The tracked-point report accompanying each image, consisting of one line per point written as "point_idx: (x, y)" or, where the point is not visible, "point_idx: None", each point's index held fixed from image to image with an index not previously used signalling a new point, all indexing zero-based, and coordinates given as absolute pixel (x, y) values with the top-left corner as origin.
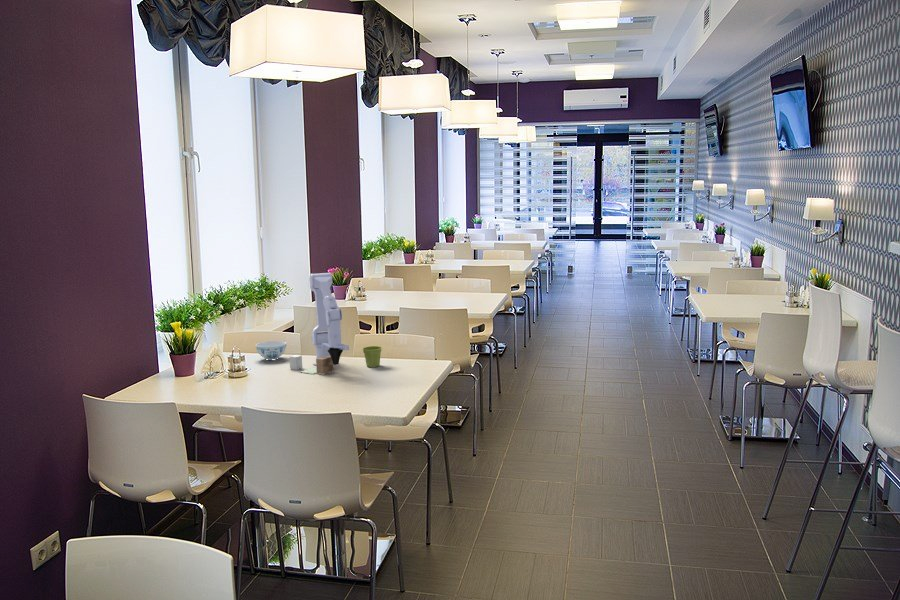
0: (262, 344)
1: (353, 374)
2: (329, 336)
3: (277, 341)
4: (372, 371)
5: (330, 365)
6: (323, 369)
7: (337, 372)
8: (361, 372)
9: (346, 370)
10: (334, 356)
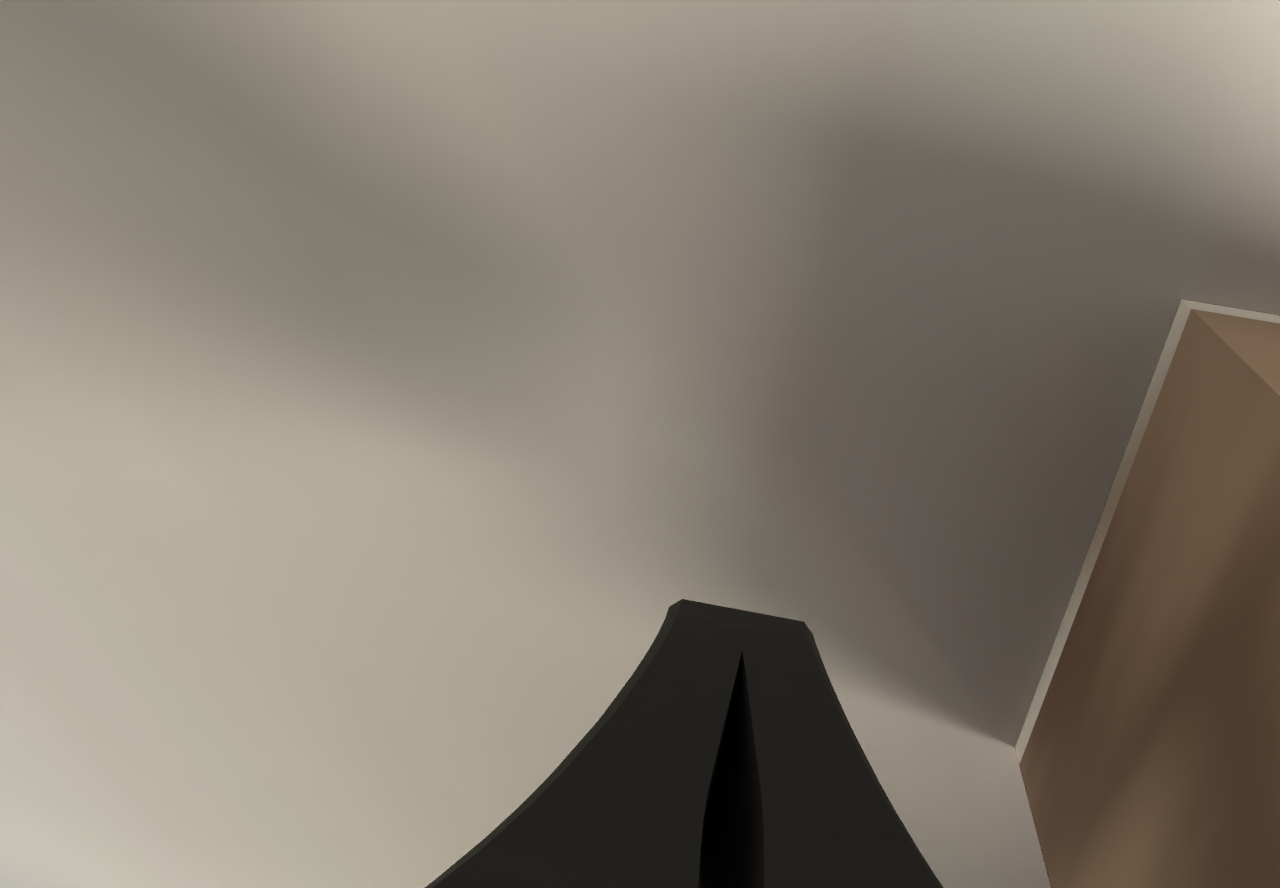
0: None
1: (205, 544)
2: None
3: None
4: (6, 884)
5: (1113, 799)
6: (1248, 384)
7: None
8: (168, 767)
9: None
10: (587, 861)
